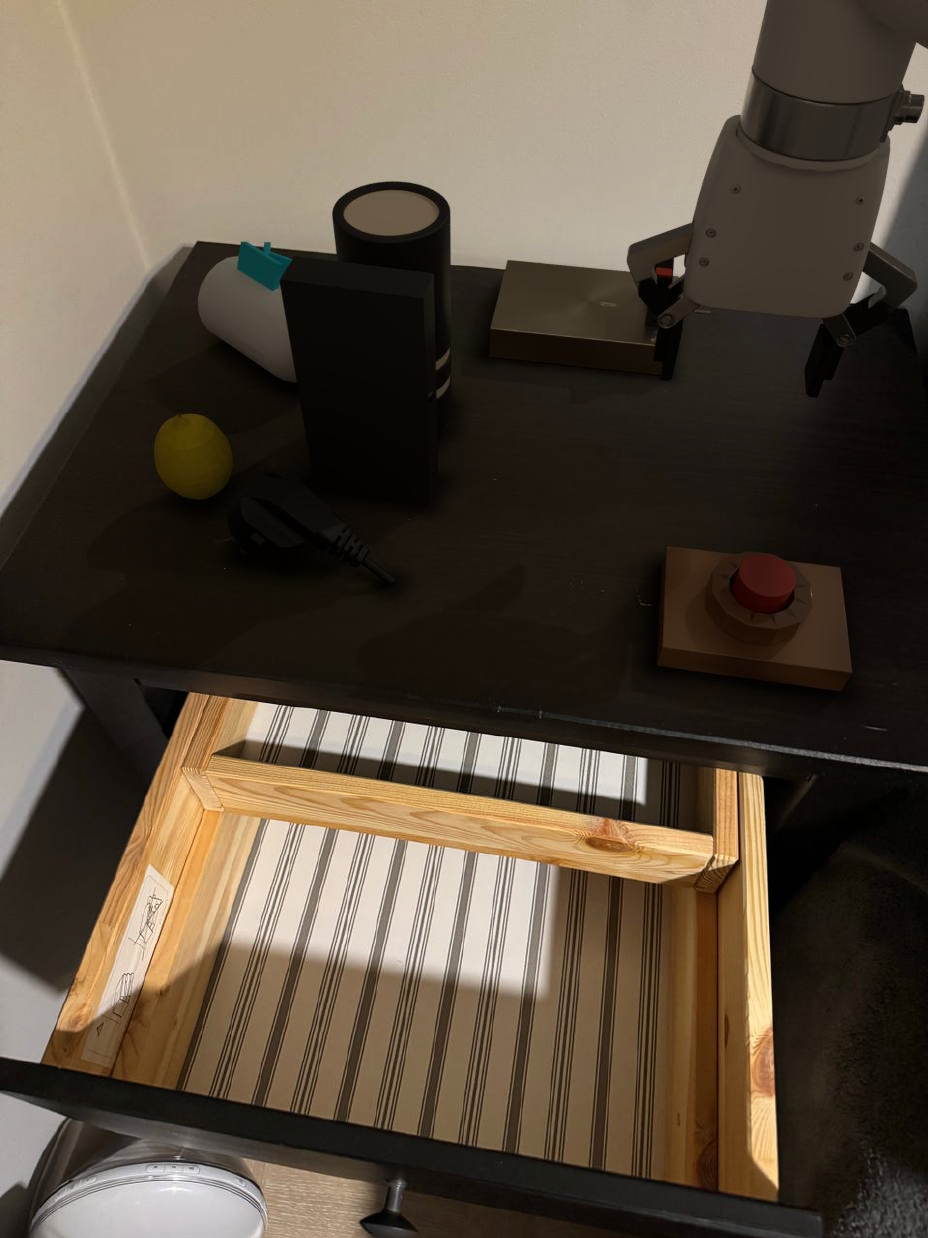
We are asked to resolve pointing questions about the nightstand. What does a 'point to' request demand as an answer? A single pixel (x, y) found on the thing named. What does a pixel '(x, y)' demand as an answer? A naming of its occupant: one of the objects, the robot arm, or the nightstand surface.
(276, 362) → the mug
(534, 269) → the panel
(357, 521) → the nightstand surface
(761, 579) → the button
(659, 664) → the red push button box
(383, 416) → the light fixture
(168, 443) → the fruit
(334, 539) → the power plug
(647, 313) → the black boxy piece
